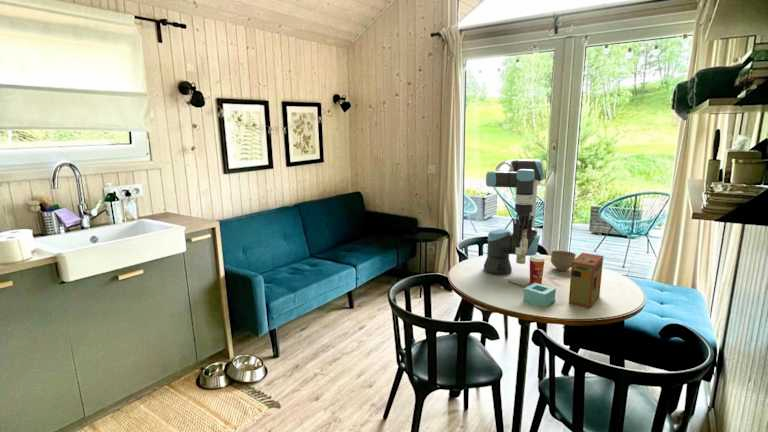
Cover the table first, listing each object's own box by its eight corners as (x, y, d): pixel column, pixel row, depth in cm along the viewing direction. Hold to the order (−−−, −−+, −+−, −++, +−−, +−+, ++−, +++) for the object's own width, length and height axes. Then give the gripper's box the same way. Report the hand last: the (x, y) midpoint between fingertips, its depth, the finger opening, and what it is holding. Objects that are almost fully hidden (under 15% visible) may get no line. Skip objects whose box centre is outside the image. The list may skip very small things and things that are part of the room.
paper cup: (536, 286, 203) (537, 260, 200) (524, 282, 210) (525, 256, 207) (547, 284, 207) (549, 257, 204) (535, 279, 213) (536, 253, 210)
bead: (523, 300, 188) (524, 288, 186) (534, 294, 194) (535, 282, 193) (544, 307, 180) (544, 294, 179) (554, 300, 187) (555, 288, 185)
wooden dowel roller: (514, 262, 190) (516, 229, 187) (519, 260, 193) (521, 227, 190) (522, 264, 187) (523, 230, 184) (527, 262, 189) (529, 229, 186)
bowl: (576, 268, 229) (577, 251, 227) (572, 275, 218) (574, 257, 216) (552, 264, 235) (553, 248, 233) (547, 271, 225) (549, 253, 223)
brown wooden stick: (508, 282, 210) (508, 280, 209) (509, 282, 210) (509, 280, 210) (527, 288, 202) (527, 286, 202) (528, 287, 202) (528, 285, 202)
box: (578, 292, 196) (582, 252, 191) (599, 296, 190) (603, 256, 186) (568, 304, 183) (571, 261, 179) (590, 309, 177) (594, 265, 173)
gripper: (520, 206, 176) (517, 258, 181) (541, 202, 187) (538, 251, 191) (505, 204, 182) (503, 254, 186) (527, 200, 192) (524, 248, 197)
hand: (521, 252), depth 189 cm, fingers closed on wooden dowel roller, 4 cm apart
